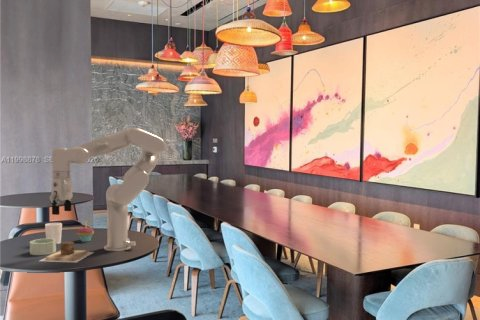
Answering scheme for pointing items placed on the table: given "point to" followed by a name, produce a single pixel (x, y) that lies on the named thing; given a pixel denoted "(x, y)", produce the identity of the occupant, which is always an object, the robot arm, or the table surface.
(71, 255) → the lid
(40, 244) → the bowl
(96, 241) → the table surface
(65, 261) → the mat
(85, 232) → the cupcake
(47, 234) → the white cup
